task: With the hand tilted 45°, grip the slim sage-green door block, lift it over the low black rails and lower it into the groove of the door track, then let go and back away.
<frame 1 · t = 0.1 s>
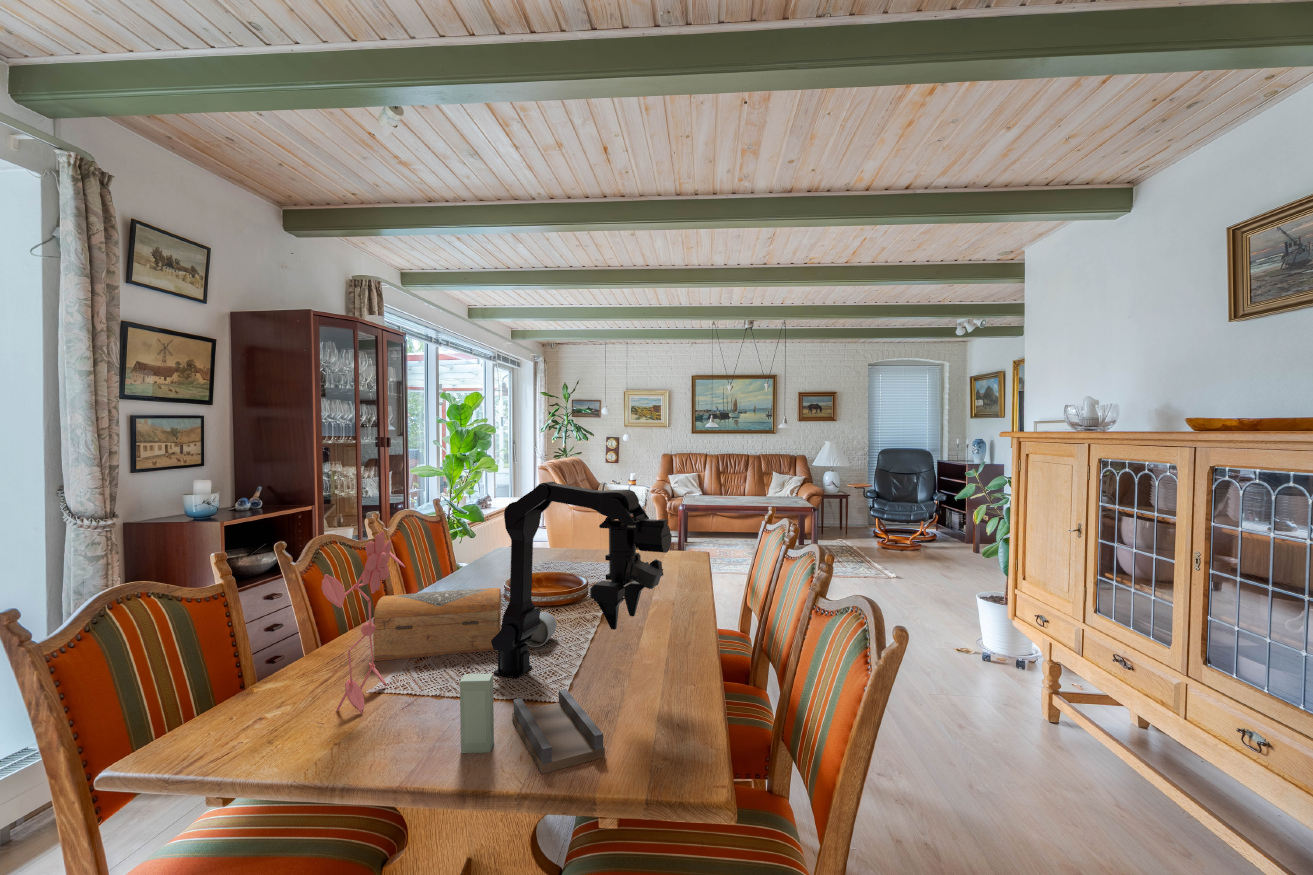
hand: (623, 622, 126), 15 cm above the table, tool pointing down, fingers open, 9 cm apart
figurine: (381, 700, 123), on the table
wooden box: (442, 645, 155), on the table
ceramic mug: (534, 643, 156), on the table
door panel: (477, 747, 104), on the table
door track: (555, 737, 108), on the table
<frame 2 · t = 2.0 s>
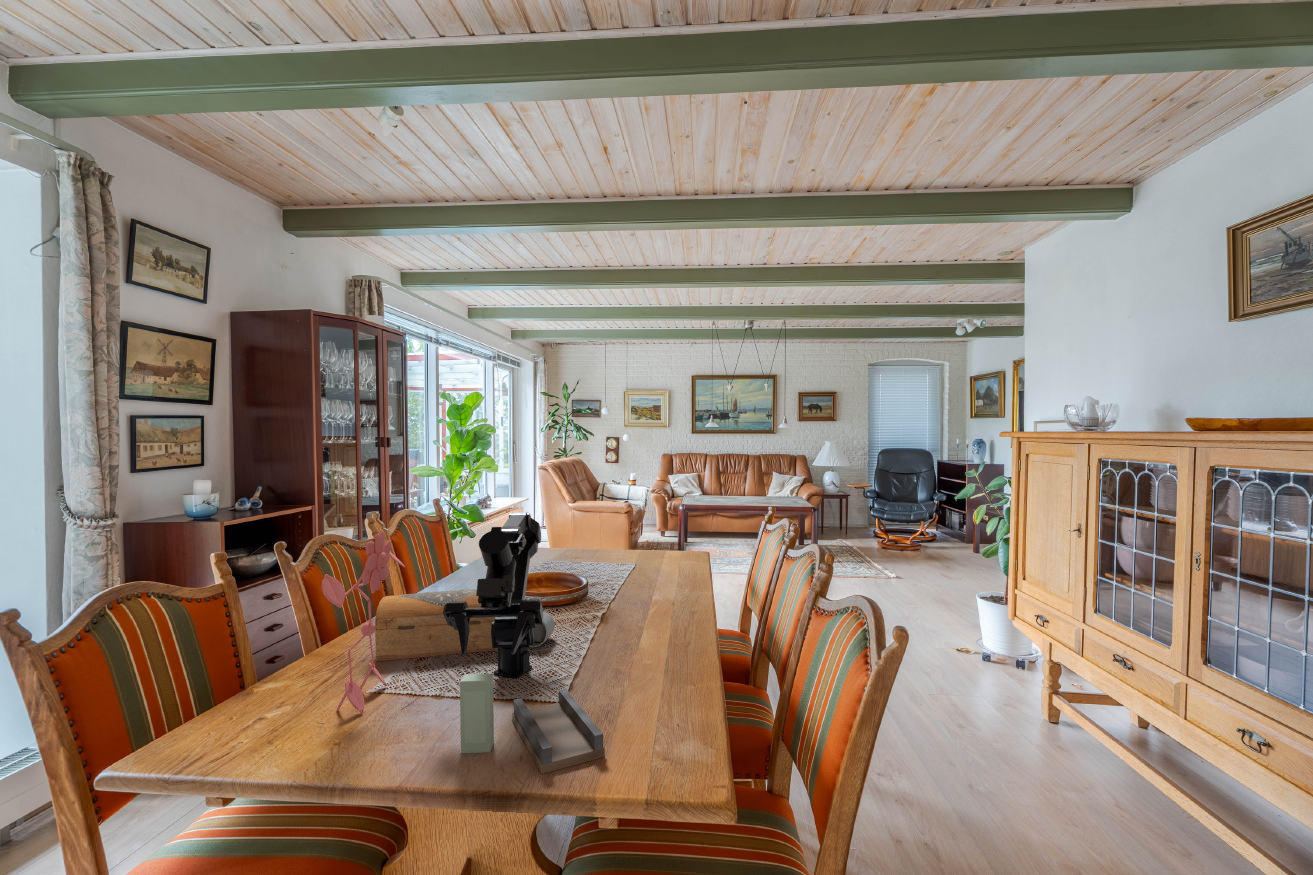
hand: (488, 654, 112), 13 cm above the table, tool tilted 45°, fingers open, 9 cm apart
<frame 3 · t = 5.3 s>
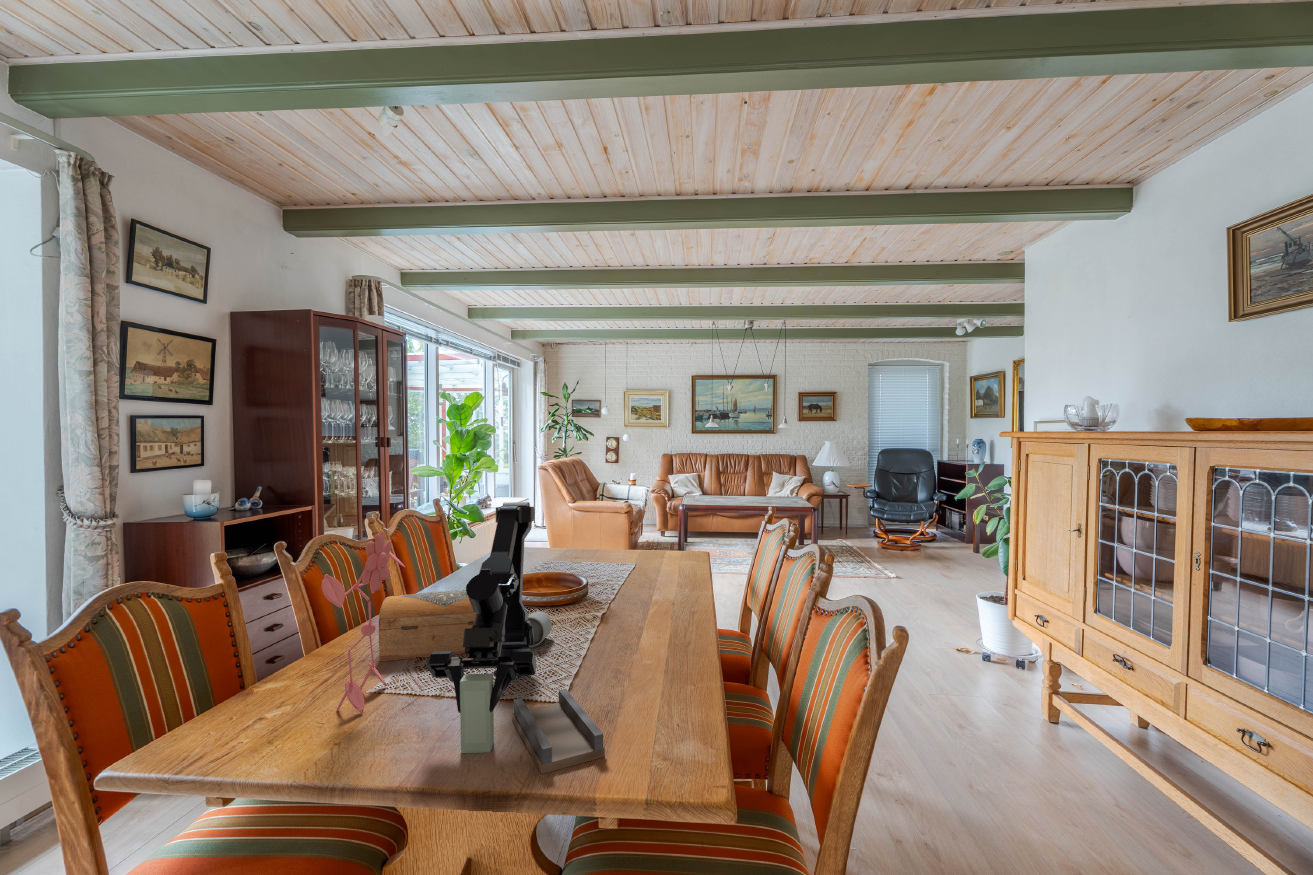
hand: (475, 711, 103), 7 cm above the table, tool tilted 45°, fingers closed on door panel, 5 cm apart
door panel: (477, 747, 104), on the table, touching gripper
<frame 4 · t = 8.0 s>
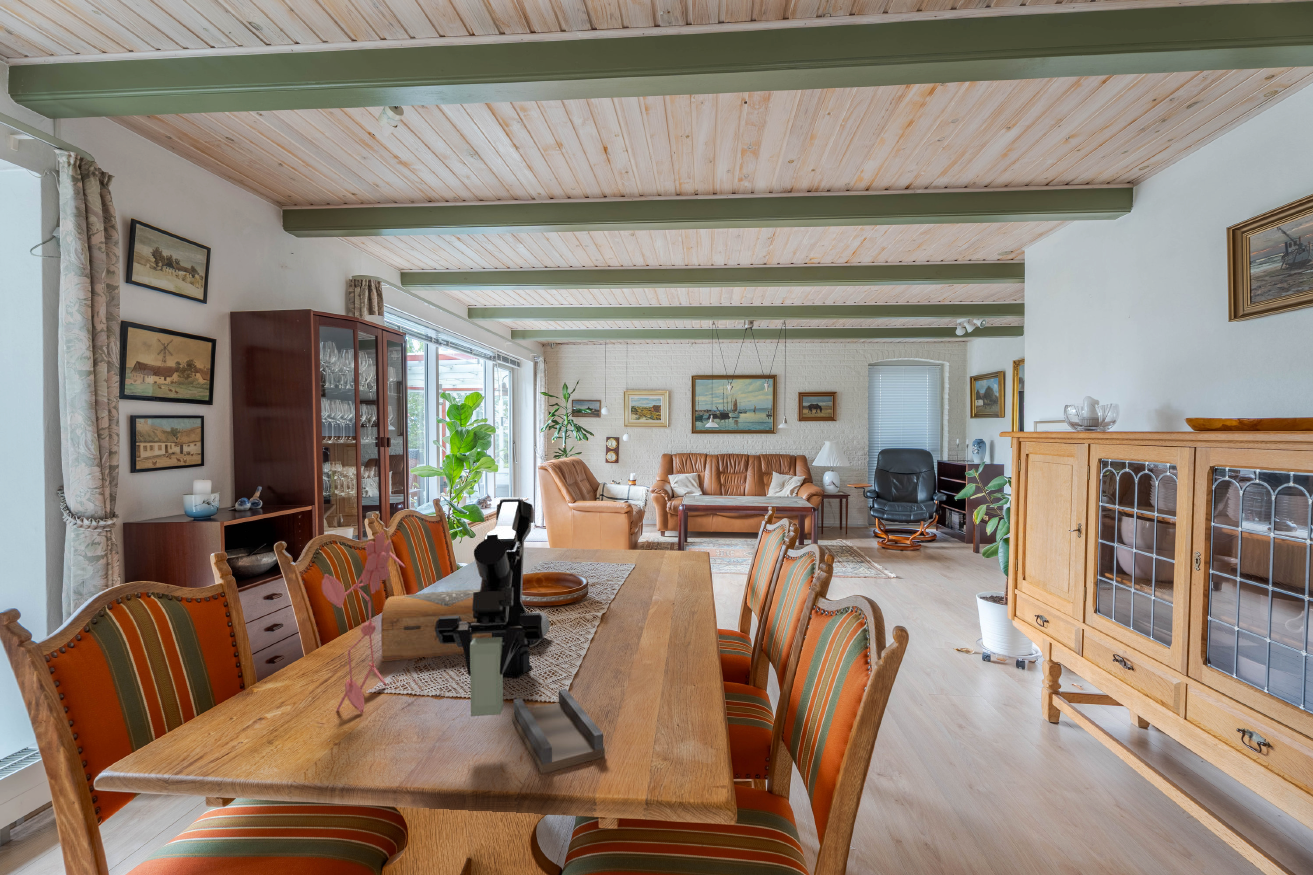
hand: (485, 674, 103), 14 cm above the table, tool tilted 45°, fingers closed on door panel, 5 cm apart
door panel: (487, 711, 104), point 6 cm above the table, touching gripper
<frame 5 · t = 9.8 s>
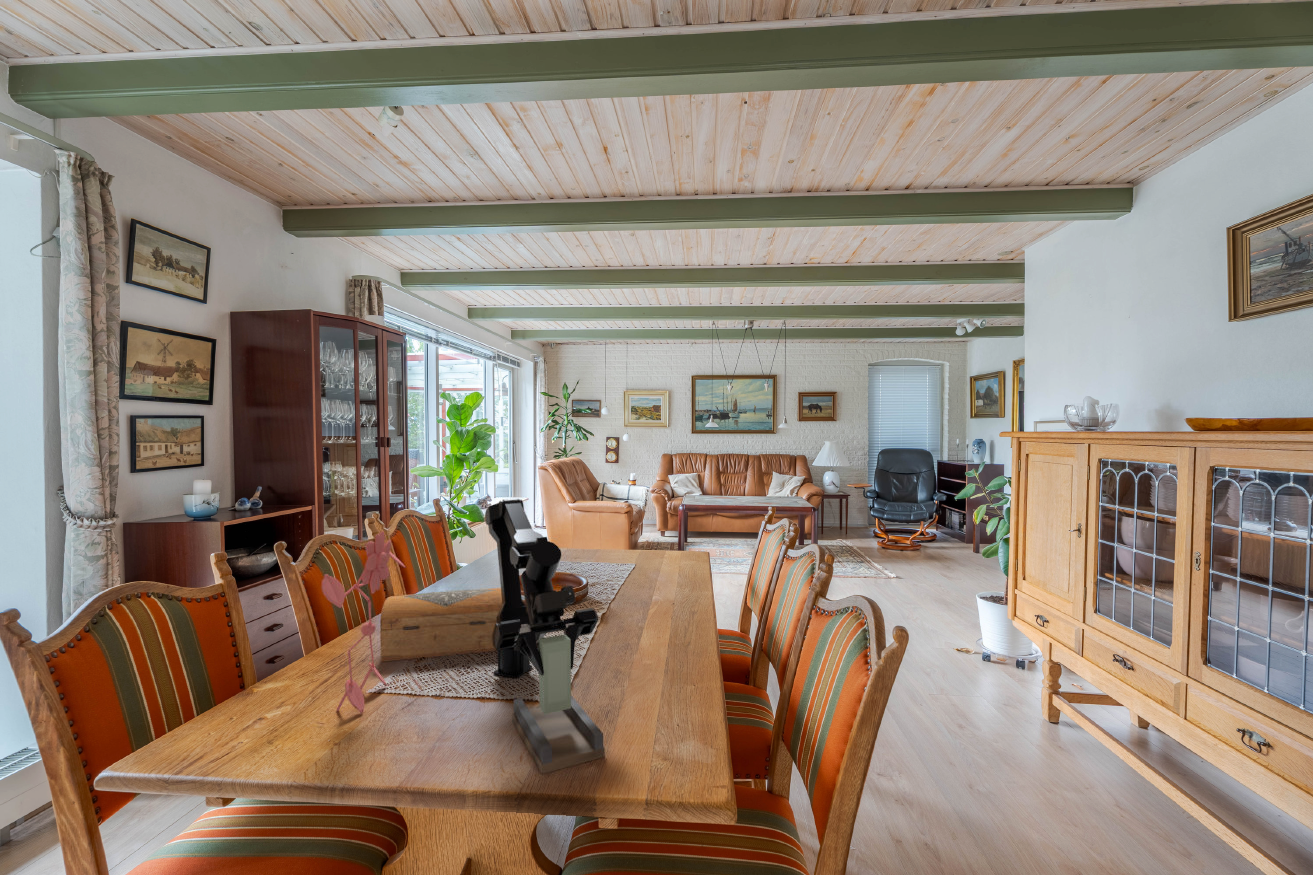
hand: (557, 671, 106), 13 cm above the table, tool tilted 45°, fingers closed on door panel, 5 cm apart
door panel: (555, 707, 108), point 5 cm above the table, touching gripper
when the fingers open (10 cm above the table, at t = 11.2 s): door panel stays where it is, resting on door track.
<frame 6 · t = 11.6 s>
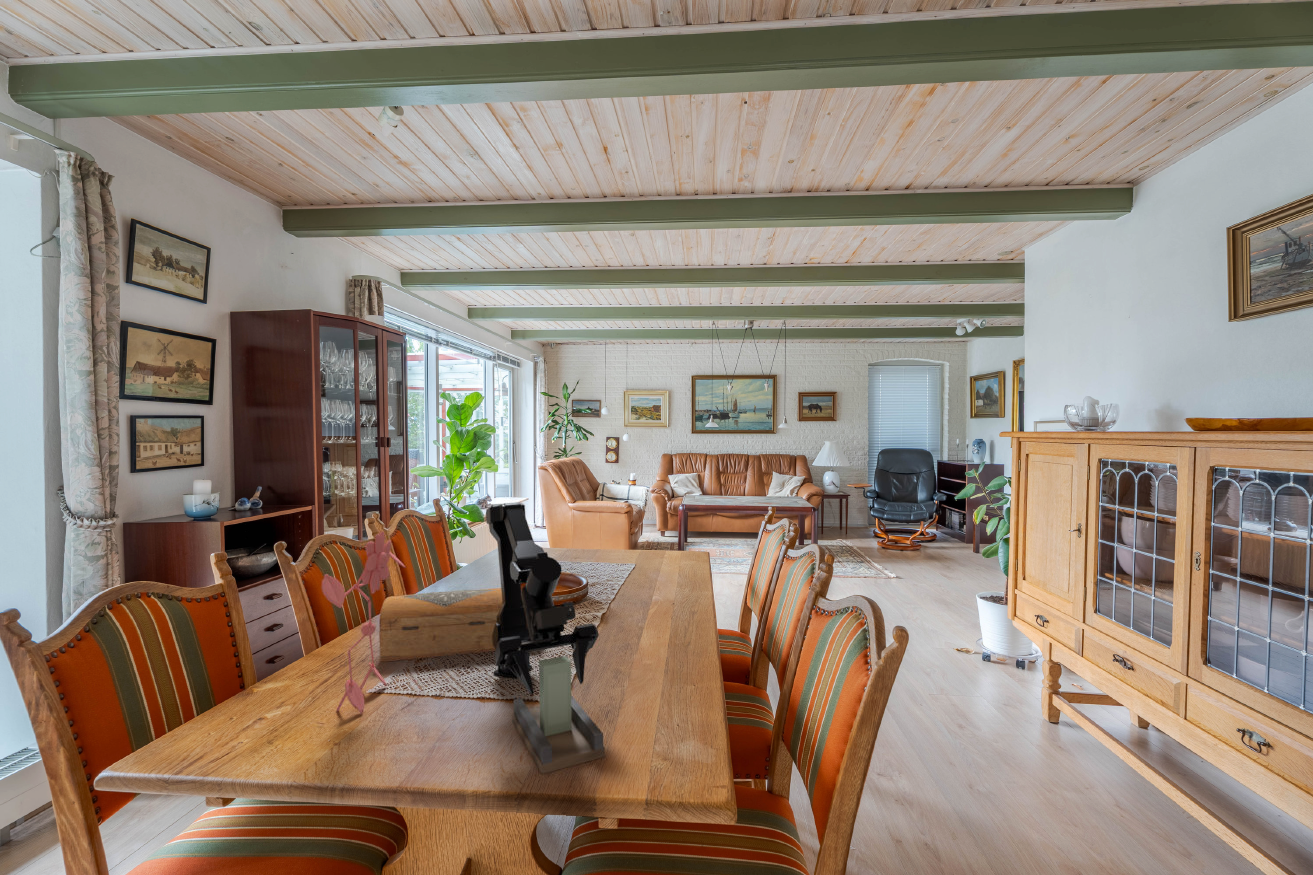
hand: (557, 688, 106), 10 cm above the table, tool tilted 45°, fingers open, 9 cm apart
door panel: (555, 729, 108), point 1 cm above the table, touching door track
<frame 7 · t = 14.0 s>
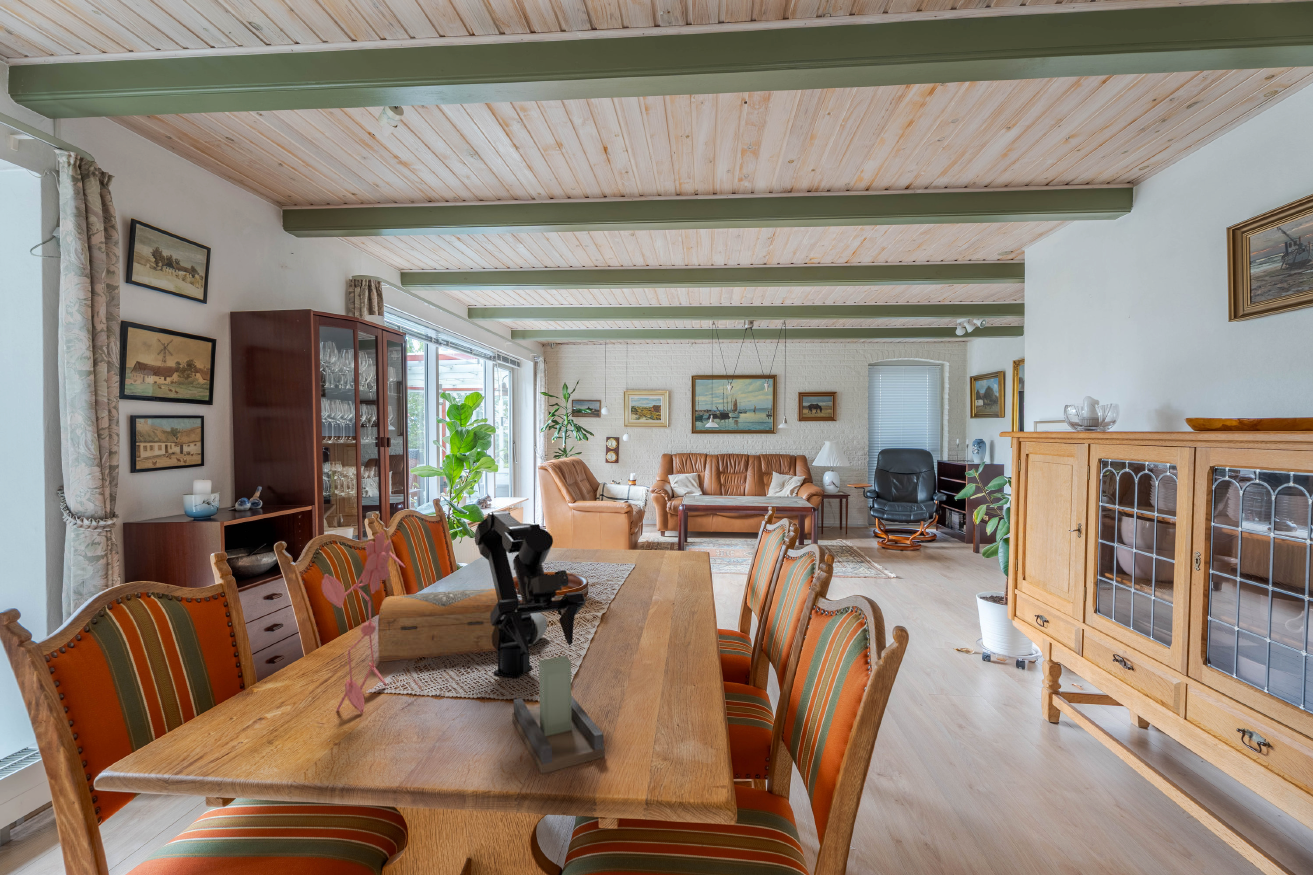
hand: (549, 647, 116), 13 cm above the table, tool tilted 40°, fingers open, 9 cm apart
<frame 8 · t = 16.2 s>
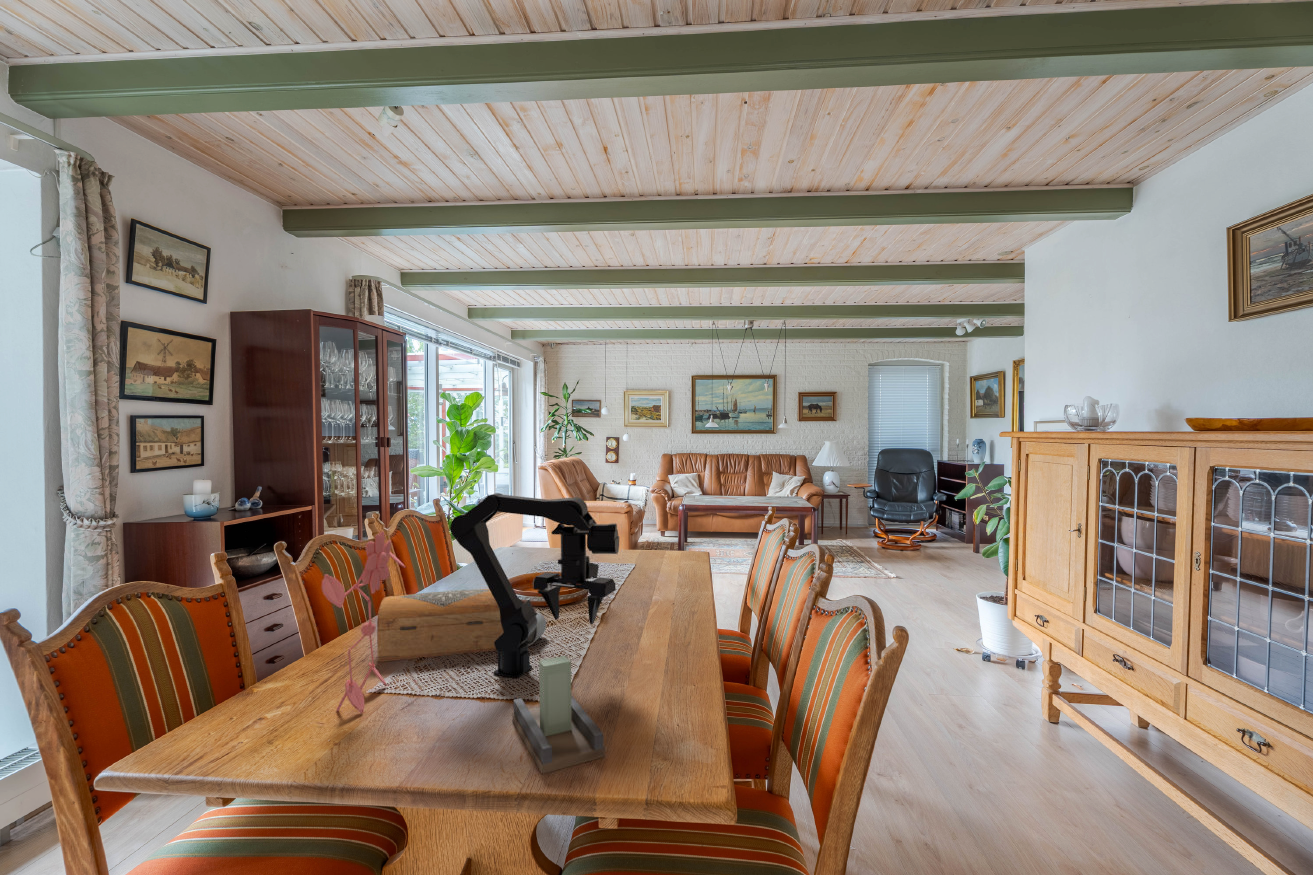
hand: (574, 621, 136), 12 cm above the table, tool pointing down, fingers open, 9 cm apart
at the end: door panel inside the target area on the door track (0.0 cm from its centre), point 1.5 cm above the door track's base; door panel tilted 0°; the gripper is holding nothing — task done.
